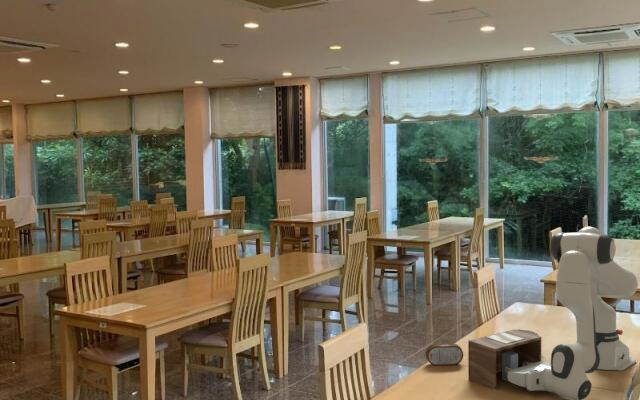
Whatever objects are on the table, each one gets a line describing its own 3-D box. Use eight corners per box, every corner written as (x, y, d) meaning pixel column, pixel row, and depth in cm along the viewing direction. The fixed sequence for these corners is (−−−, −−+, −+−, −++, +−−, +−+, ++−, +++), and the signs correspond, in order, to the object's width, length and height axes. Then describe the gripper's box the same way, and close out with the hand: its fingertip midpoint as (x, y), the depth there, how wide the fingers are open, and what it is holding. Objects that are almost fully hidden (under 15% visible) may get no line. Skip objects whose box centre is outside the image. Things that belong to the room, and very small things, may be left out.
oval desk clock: (462, 362, 258) (462, 342, 257) (464, 365, 255) (464, 344, 254) (425, 364, 257) (425, 343, 257) (427, 366, 254) (426, 346, 254)
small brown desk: (514, 366, 252) (514, 328, 251) (541, 375, 242) (541, 335, 241) (468, 379, 239) (468, 339, 238) (494, 389, 228) (494, 348, 227)
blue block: (509, 376, 241) (509, 351, 240) (517, 379, 238) (518, 353, 237) (502, 378, 239) (502, 352, 238) (510, 382, 235) (510, 355, 235)
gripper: (564, 362, 230) (533, 353, 241) (527, 374, 219) (496, 363, 230) (564, 379, 230) (532, 369, 242) (526, 392, 219) (496, 380, 231)
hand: (514, 366), depth 236 cm, fingers open, 8 cm apart
